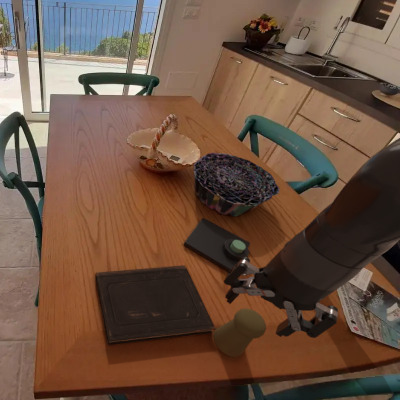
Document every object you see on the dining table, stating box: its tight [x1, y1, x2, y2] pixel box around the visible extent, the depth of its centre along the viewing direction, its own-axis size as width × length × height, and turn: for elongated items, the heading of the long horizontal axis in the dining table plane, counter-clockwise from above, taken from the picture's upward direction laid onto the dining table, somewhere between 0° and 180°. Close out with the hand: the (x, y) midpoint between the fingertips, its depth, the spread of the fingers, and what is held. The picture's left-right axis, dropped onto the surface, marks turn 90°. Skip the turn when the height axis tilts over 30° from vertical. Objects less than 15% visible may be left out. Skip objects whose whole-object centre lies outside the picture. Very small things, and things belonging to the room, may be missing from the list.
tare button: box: [230, 240, 246, 253], centre depth 71 cm, size 3×3×2 cm
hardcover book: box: [94, 265, 217, 346], centre depth 61 cm, size 16×23×2 cm
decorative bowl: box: [192, 152, 281, 217], centre depth 89 cm, size 26×28×10 cm
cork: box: [213, 308, 267, 358], centre depth 53 cm, size 6×6×11 cm
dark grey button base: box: [182, 217, 251, 273], centre depth 75 cm, size 15×13×3 cm
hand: (253, 314), depth 48 cm, fingers open, 8 cm apart
